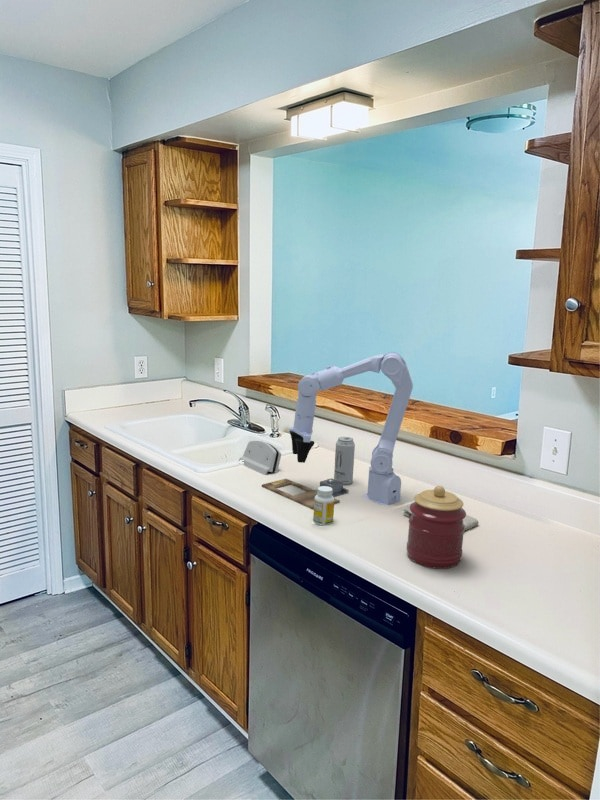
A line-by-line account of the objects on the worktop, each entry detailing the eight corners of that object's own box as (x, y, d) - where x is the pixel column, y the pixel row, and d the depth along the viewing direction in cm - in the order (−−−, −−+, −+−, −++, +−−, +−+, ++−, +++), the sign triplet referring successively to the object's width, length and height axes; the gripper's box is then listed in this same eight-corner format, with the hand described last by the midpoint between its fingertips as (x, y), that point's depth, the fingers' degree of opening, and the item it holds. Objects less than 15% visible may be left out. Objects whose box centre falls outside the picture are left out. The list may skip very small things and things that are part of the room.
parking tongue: (348, 494, 178) (348, 489, 178) (332, 499, 173) (332, 494, 173) (329, 487, 184) (330, 482, 184) (313, 492, 179) (314, 487, 179)
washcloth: (424, 507, 172) (425, 497, 171) (480, 527, 159) (481, 516, 158) (400, 517, 163) (401, 506, 163) (456, 538, 151) (457, 527, 150)
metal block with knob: (342, 492, 178) (343, 480, 178) (331, 495, 175) (331, 484, 174) (331, 487, 182) (331, 476, 181) (319, 490, 179) (320, 479, 178)
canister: (416, 540, 148) (422, 473, 144) (467, 553, 142) (474, 484, 138) (398, 559, 137) (403, 488, 133) (452, 575, 130) (459, 500, 127)
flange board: (339, 504, 170) (339, 499, 170) (314, 512, 163) (315, 507, 163) (285, 482, 187) (286, 477, 187) (261, 488, 181) (261, 483, 180)
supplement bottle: (313, 526, 154) (314, 491, 152) (313, 518, 159) (314, 484, 157) (333, 526, 154) (335, 492, 152) (332, 518, 159) (334, 485, 157)
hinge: (237, 462, 205) (246, 435, 206) (247, 464, 209) (256, 438, 209) (265, 475, 193) (274, 446, 193) (276, 477, 196) (285, 449, 196)
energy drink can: (329, 482, 188) (332, 437, 186) (344, 479, 192) (346, 435, 189) (342, 488, 184) (344, 442, 181) (356, 484, 187) (359, 439, 184)
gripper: (287, 407, 181) (281, 449, 183) (296, 420, 167) (290, 465, 170) (309, 409, 182) (303, 451, 185) (320, 422, 168) (313, 466, 171)
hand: (298, 457), depth 177 cm, fingers open, 7 cm apart
